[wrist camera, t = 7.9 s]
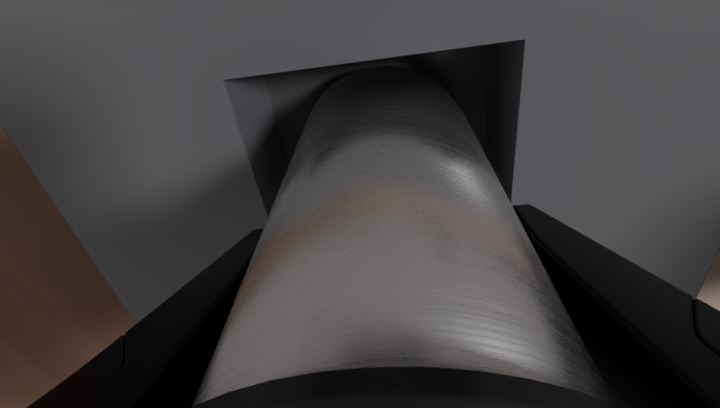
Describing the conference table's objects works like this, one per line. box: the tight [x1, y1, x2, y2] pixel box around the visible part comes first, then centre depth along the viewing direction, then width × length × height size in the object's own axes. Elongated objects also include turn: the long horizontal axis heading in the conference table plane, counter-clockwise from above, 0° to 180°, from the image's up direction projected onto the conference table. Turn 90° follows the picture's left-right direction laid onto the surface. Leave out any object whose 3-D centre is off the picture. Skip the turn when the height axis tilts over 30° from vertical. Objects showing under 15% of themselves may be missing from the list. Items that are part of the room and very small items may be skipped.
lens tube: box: [192, 66, 621, 408], centre depth 8 cm, size 6×6×10 cm
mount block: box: [0, 0, 720, 324], centre depth 12 cm, size 18×18×4 cm
